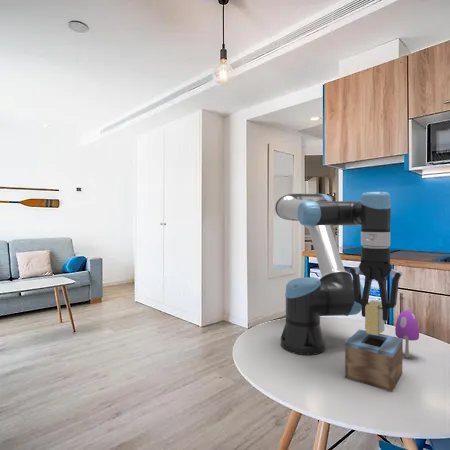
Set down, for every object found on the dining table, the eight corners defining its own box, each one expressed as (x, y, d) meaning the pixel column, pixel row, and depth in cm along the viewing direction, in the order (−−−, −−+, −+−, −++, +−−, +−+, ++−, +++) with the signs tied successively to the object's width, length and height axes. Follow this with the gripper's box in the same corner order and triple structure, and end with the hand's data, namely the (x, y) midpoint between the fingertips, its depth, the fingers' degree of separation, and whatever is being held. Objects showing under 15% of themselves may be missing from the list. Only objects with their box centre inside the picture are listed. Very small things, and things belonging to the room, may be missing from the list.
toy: (422, 362, 100) (423, 314, 99) (399, 360, 101) (399, 312, 101) (414, 353, 106) (414, 308, 106) (392, 351, 108) (392, 307, 107)
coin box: (345, 377, 90) (345, 342, 90) (359, 361, 100) (359, 329, 100) (392, 391, 83) (392, 353, 83) (402, 372, 93) (402, 338, 93)
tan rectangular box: (365, 332, 90) (366, 304, 90) (371, 327, 94) (371, 300, 94) (377, 335, 88) (377, 306, 88) (382, 329, 92) (383, 301, 92)
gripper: (342, 246, 93) (341, 327, 93) (404, 249, 83) (404, 340, 83) (350, 244, 99) (350, 320, 99) (410, 247, 89) (409, 332, 89)
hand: (374, 329), depth 91 cm, fingers closed on tan rectangular box, 3 cm apart
